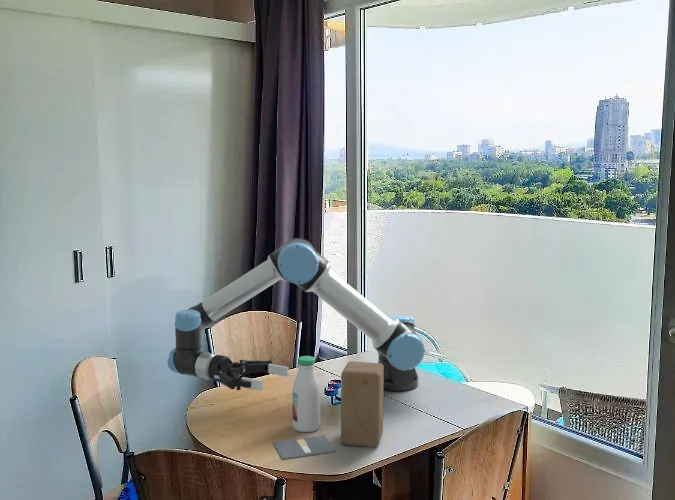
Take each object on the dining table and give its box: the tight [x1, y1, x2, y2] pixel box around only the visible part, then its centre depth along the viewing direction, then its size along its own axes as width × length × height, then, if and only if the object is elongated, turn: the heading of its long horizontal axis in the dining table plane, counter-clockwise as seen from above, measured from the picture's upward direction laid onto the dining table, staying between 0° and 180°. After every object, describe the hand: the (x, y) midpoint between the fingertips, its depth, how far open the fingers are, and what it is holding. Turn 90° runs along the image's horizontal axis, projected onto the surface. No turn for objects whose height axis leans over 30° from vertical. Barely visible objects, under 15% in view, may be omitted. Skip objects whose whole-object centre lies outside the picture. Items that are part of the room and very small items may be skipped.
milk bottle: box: [291, 355, 321, 433], centre depth 175 cm, size 8×8×20 cm
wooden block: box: [340, 360, 384, 448], centre depth 168 cm, size 10×10×20 cm
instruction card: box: [272, 434, 337, 461], centre depth 164 cm, size 14×10×1 cm
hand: (275, 378), depth 179 cm, fingers open, 13 cm apart
